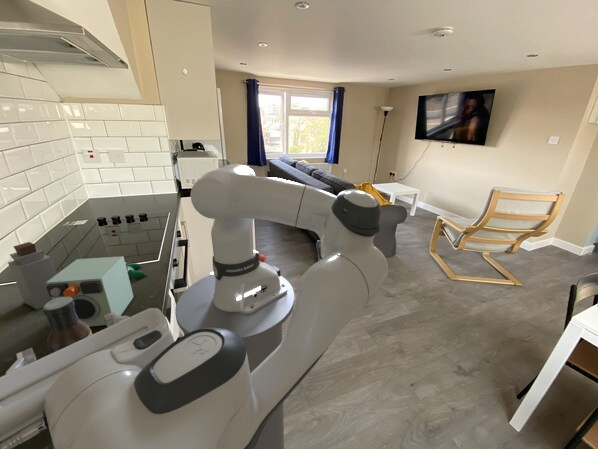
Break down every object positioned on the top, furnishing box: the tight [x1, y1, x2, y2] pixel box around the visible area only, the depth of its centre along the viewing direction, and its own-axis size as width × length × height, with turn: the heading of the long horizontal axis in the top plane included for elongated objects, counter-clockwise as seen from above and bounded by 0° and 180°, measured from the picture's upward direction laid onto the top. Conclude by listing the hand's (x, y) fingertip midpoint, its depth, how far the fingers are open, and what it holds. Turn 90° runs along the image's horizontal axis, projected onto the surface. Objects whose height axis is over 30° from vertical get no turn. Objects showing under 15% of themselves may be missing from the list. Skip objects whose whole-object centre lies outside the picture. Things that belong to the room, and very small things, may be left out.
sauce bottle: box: [42, 297, 93, 355], centre depth 49 cm, size 6×6×20 cm
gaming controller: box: [125, 262, 146, 278], centre depth 92 cm, size 9×4×6 cm
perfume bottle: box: [7, 241, 58, 310], centre depth 75 cm, size 7×7×18 cm
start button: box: [63, 285, 80, 298], centre depth 62 cm, size 2×2×2 cm
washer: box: [46, 255, 134, 328], centre depth 70 cm, size 14×12×14 cm
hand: (71, 334), depth 38 cm, fingers open, 8 cm apart
